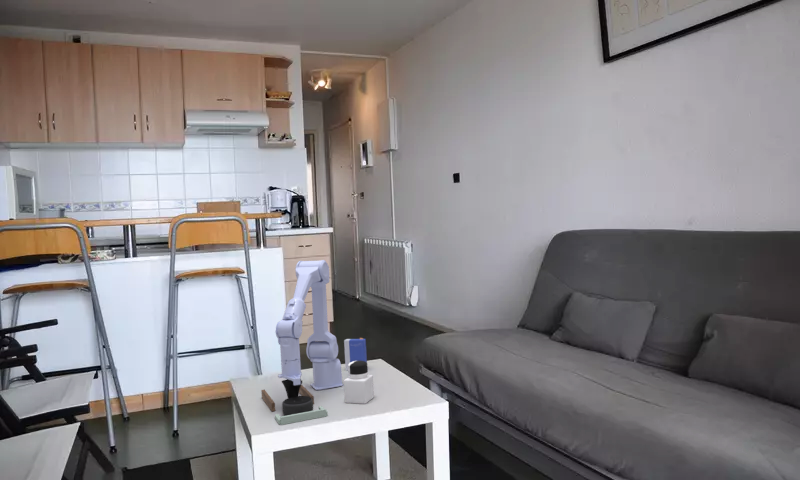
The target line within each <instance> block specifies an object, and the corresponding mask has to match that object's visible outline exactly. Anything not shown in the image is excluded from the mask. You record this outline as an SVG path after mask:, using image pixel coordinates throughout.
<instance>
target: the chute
mask: <svg viewBox="0 0 800 480" xmlns="http://www.w3.org/2000/svg"><path fill="white" fill-rule="evenodd" d="M260 391H261V392H260V393H261V398H262V400H263V402H264V403H265V404H266V406H267V408H269V410H270V411H271V412H275V411H276V402H275V400H273V398H272V397H271V396H270V395H269V393H268V392H267V390H265V389H261V390H260ZM299 394H300V396H308V397H310V398H312V400H313V405H315V397H314V394H313V393H311V392H310V391H309V390H308V389H307V388H306V387H305V386H304V385H303V384H301V387H300V389H299Z"/></svg>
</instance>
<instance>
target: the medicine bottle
mask: <svg viewBox="0 0 800 480" xmlns="http://www.w3.org/2000/svg"><path fill="white" fill-rule="evenodd" d="M347 373H348V377H347V378H345V379H344V380H343V393H344V394H343V395H344V402H345V403H346V404H367V403H368V402H370V401H371V400H372V399H373V398H375V390H374V389H375V387H374V375H373V374H369V371H368V361H367V362H365V361H353V362H350V363H349V364H348V371H347Z"/></svg>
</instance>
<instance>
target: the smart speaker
mask: <svg viewBox="0 0 800 480" xmlns="http://www.w3.org/2000/svg"><path fill="white" fill-rule="evenodd" d="M281 405H282V407H281V410H282V413H283V416H287V415H292V414H298V413H303V412H309V411H314V404H313V400H312V398H310V397H308V396H302V395H298V396H295V397H290V398H288V397H287V398H285V399H284V400H283V401H282V404H281Z"/></svg>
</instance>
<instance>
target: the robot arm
mask: <svg viewBox="0 0 800 480" xmlns="http://www.w3.org/2000/svg"><path fill="white" fill-rule="evenodd" d="M295 276H296V279H297V281H296V284H295V285H296V286H295V289H294V293H293V297H292V298H291V299H289V300H288V302H287V304H286V308H285V311H284V313H283V316H282V319H280V321H278V322H277V323H276V326H275V332H274V333H275V335H276V338H277V343H278V345H279V346H280V348H279V349H280V362H281V363H280V365H281V374H278V375H277V377H278V379H282V380H281V383H282V385H283V387H284V390H285V392H286V397H287V399H288V398H290V397H295V396H299V394H300V393H299V389H300V387H301V385H303V380H302V378H301V377H302V375H303V373H302V367H301V366H302V363H301V352H300V351H301V349H300V338H301V336H302V333H303V317H304V314H305V310H306V307H307V304H306V303H305V301H306V300H305V299H306V297H307V295H308V292H309V290H310V289H311V305H312V325H313V326H312V328H313V333H312V334H311V335H309V337H308V338H307V340H306V341H307V342H306V343H307V345H306V349H305V350H306V351H305V353H306V356H307V358H308V359H309V360H310V362H312V375H313V383H310V386H311V387H312V388H313V389H314V390H315V391H320V390H326V389H331V388H338V387H344V383H343V376H342V375H343V373H342V365H341V361H340V359H339V358H337V357H338V354H339V345H338V341H337V340H338V339H337V337H336V335H334V334H332V333H331V332H330V331H329V323H328V321H329V319H328V302H327V284H329V283H330V266H329V264H328V262H327V261H326V260H325V259H320V260H299V261H298V262H297V263H296V264H295Z"/></svg>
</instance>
